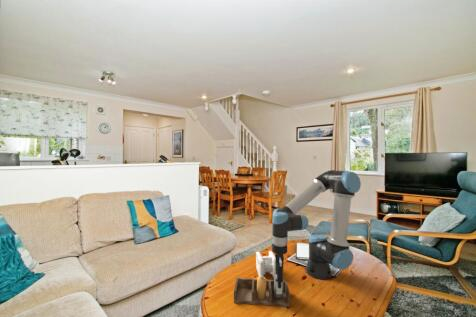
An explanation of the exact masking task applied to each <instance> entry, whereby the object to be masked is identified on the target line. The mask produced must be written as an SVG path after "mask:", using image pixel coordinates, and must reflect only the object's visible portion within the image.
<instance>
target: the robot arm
mask: <svg viewBox="0 0 476 317" xmlns="http://www.w3.org/2000/svg"><path fill="white" fill-rule="evenodd" d="M361 185H362V182H361V178H360V177H359V175H358V174H357V173H356V172H354V171H349V170H337V169H336V170H335V169H334V170H333V169H331V170H328V171H325V172H322V173H320V174H319V175H317V176H316V177H315V178H314V179H313V180H312V183H310V184H309V185H308V186H306V188H305V189H303V190H302V191H301V192H300V193H299V194H297V195H296V196H295V197H294V198H292V200H289V202H288V203H287V204H285V205H284V206H283V207H282V208H276V209H274V210H273V212H272V221H271V222H272V231H271V232H272V233H271V234H272V236H271V237H270V238H271V239H272V240H271V241H272V244H271V251H272V252H273V254H274V256H275V261H276V269H275V270H276V274H277V279H276V281H277V283H276V294H282V282H283V281H284V280H283V277H284V260H285V258H284V255H286V254H287V253H288V238H289V236H288V233H289V232H294V231H295V232H296V231H302V230H307V228H308V227H309V219H308V217H307V216H306V215H304V214H298V213H299V212H301V210H303V209H304V208H305V207H306V206H307V205H308V204H310V203H311V202H312V201H313V200H314V199H316V198H317V197H318V196H319V195H320V194H322V193H325V192H326V191H328V190H331V191H332V195H333V196H334V199H333V208H332V209H333V210H332V219H331V227H330V236H328V235H325V234H311V235H310V236H309V239H308V240H309V241H308V259H307V260H308V261H307V262H306V266H305V272H306V274H307V275H308V276H310V277H312V278H315V279H318V280H328V279H330V278H332V276H333V275H332V274H333V273H332V269H331V266H333V267H334V268H336V269H338V270H340V271H343V270H346V269H348V268H349V267H350V266H351V265H352V262H353V261H354V254H353V252H352V250H350V244H349V242H348V233H349V231H348V230H349V221H350V215H351V214H350V213H351V205H352V199H353V198H354V197H355V193H356V194H357V193H358V192H359V191H360V189H361Z"/></svg>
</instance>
